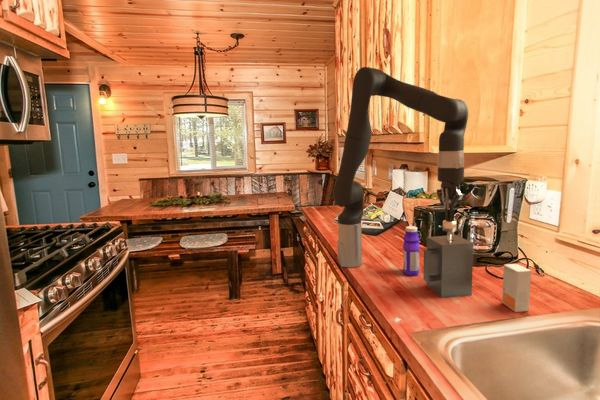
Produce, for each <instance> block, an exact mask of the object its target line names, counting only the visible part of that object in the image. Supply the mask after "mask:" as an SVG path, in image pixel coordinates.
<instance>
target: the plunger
mask: <svg viewBox="0 0 600 400" xmlns="http://www.w3.org/2000/svg"><path fill="white" fill-rule="evenodd" d="M457 222H458V221H457V220H455V219H454V221H450V222H448V221H446V220H445V219H444V220H442V231H443V232H446V233H447V234H446V236H447V241H451V235H452V233H454V232H457V227H458V226H457V225H458V223H457Z"/></svg>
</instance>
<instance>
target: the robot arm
mask: <svg viewBox="0 0 600 400" xmlns="http://www.w3.org/2000/svg"><path fill="white" fill-rule="evenodd" d="M351 91H352V92H351V102H350V112H349V117H348V124H347V129H346V133H345V139H344V144H343V150H342V155H341V160H340V165H339V169H338V173H337V177H336V178H335V179H336V180H335V182H334V183H335V184H334V186H333V191H332V197H333V202H334V203H335V205H336V206H338V207H340V208H343V209H342V211H341V212H340V213H339V214H338V216H337V232H338V233H337V234H338V236H337V241H336V245H337V246H336V248H337V249H336V250H337V263H338V265H339V266H340V267H341V268H357V267H361V266H362V264H363V250H362V249H363V248H362V246H363V243H362V242H363V240H362V238H363V237H362V218H363V215H364V205H365V204H364V203H365V202H364V201H365V195H364V189H363V186H362V185H361V184H360V182H357V181H354V180H355V176H356V174H357V171H358V170H359V168H360V167H361V164H362V163H363V162H364V160H365V158H366V156H367V155H368V153H369V149H370V144H371V140H372V126H371V121H370V117H369V106H370V101H371V97H374V96H377V97H385V98H388V99H389V98H390V99H391V100H395V101H396V102H399V103H400V104H402V105H403V106H405V107H406V108H409V109H412V110H414V111H417V112H419V113H422V114H425V115H427V116H429V117H431V118H432V119H434V120H437V121H438V122H442V123H444V127H443V129H444V130H443V132H441V133H440V135H439V137H438V156H437V181H438V182H440V183H441V184H440V188H439V189H436V193H437V196H438V199H439V203H440V205H441V206H442V207H443V208H444V209H445V211H444V213H445V215H444V220H446V221H448V222H450V221H454V220H455V210H456V209H459V208H460V207H461V205H462V203H463V201H464V199H465V198H466V194H465V193H462V192H461V185H460V184H461V182H463V181H464V179H465V151H464V150H465V149H464V148H465V138H464V137H465V132H466V129H467V124H468V120H469V107H468V104H467V103H466V102H465V101H464V100H462V99H459V98H452V97H451V98H450V97H447V96H444V95H440V94H438V93H437V92H435V91H433V90H430V89H427V88H424V87H421V86H418V85H414V84H411V83H406V82H404V81H401V80H399V79H396V78H394V77H393V76H392V75H389V74H387V73H386V72H385V71H382V70H381V69H379V68H374V67H369V66H363V67H360V68H359V69H358V70H357V71H356V73H355V75H354V77H353V81H352V90H351Z"/></svg>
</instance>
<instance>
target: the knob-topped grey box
mask: <svg viewBox="0 0 600 400" xmlns="http://www.w3.org/2000/svg"><path fill="white" fill-rule="evenodd" d="M473 264H474V242H472V241H470V240H467V239H466V238H463V237H461V236H459V235H457V234H451V241H447V235H438V236H437V235H436V236H427V237H426V248H425V249H423V266H422V267H423V268H422V269H423V273H422V274H423V275H422V276H423V278H422V279H423V280H424V281H425V283H426V285H425V286H426V287H427V288H428V289H429V290H431V291H432V292H433V293H435V294H436V295H437V296H438V297H439V298H443V299H444V298H453V297H454V298H455V297H463V296H464V297H465V296H473V268H474V267H473V266H474V265H473Z"/></svg>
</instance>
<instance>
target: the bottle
mask: <svg viewBox="0 0 600 400" xmlns="http://www.w3.org/2000/svg"><path fill="white" fill-rule="evenodd" d="M402 250H403V259H402V260H403V263H402V264H403V266H402V270H403V272H404V274H405V275H406V276H409V277H410V276H412V277H413V276H418V275H419V274H420V237H419V235H418V227H417V226H414V225H409V226H406V227H405V234H404V236H403V246H402Z"/></svg>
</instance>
